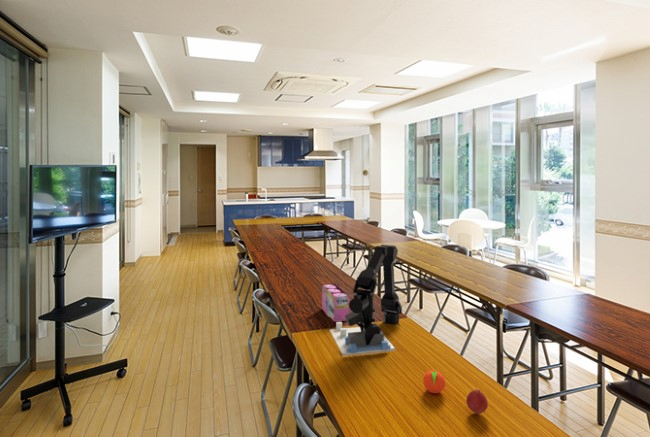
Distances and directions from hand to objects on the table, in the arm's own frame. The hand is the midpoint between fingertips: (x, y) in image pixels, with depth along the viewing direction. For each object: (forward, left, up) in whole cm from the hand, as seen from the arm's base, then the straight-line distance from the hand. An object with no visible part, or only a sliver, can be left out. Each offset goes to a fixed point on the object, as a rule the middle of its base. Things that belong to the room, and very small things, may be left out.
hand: (366, 342), depth 156 cm
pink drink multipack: (+4, -40, -3) cm, 41 cm away
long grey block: (0, 0, 0) cm, 1 cm away
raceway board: (0, -8, -3) cm, 8 cm away
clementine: (-12, +35, -3) cm, 37 cm away
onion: (-19, +48, -3) cm, 52 cm away
